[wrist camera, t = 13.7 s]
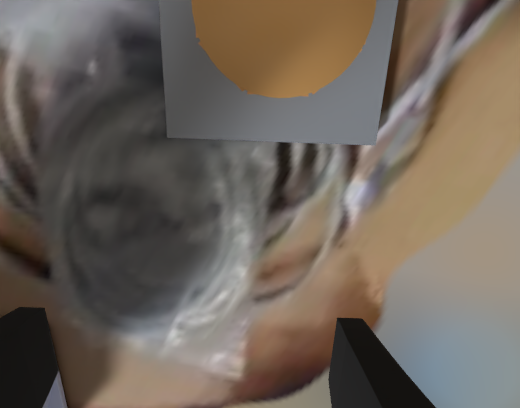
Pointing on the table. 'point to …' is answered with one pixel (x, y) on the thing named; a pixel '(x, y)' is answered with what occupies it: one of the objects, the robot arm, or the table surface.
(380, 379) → the robot arm
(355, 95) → the stud block
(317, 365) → the table surface
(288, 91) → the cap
